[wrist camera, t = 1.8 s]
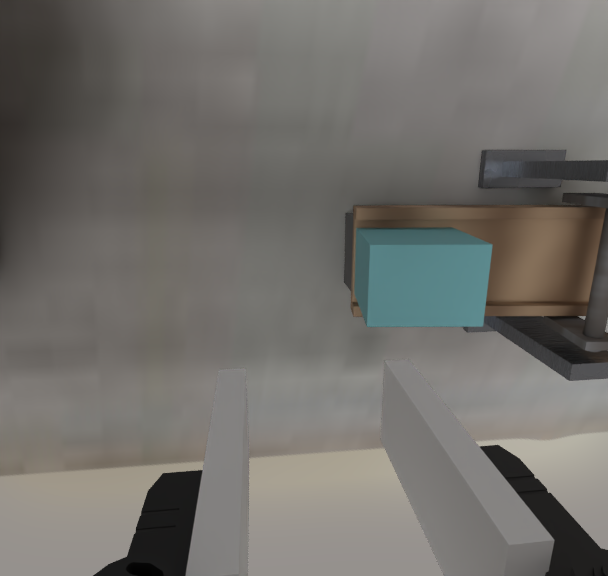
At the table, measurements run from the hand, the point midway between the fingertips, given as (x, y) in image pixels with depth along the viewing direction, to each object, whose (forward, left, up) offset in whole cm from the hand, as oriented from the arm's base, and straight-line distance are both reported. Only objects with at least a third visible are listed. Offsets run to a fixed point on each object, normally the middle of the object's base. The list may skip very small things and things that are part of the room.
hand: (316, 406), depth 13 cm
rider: (+9, 0, -19) cm, 21 cm away
